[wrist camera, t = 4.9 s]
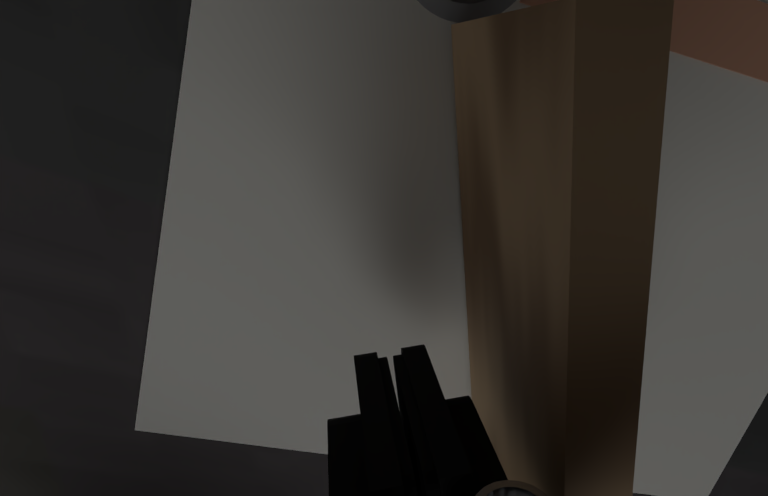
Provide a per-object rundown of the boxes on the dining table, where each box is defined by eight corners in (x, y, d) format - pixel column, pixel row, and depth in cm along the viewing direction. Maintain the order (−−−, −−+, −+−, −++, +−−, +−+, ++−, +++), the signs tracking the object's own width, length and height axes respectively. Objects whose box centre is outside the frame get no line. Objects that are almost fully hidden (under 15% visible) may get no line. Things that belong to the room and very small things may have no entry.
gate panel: (450, 24, 12) (575, -4, 6) (503, 18, 12) (675, -15, 6) (474, 447, 16) (560, 663, 10) (512, 440, 16) (619, 651, 10)
